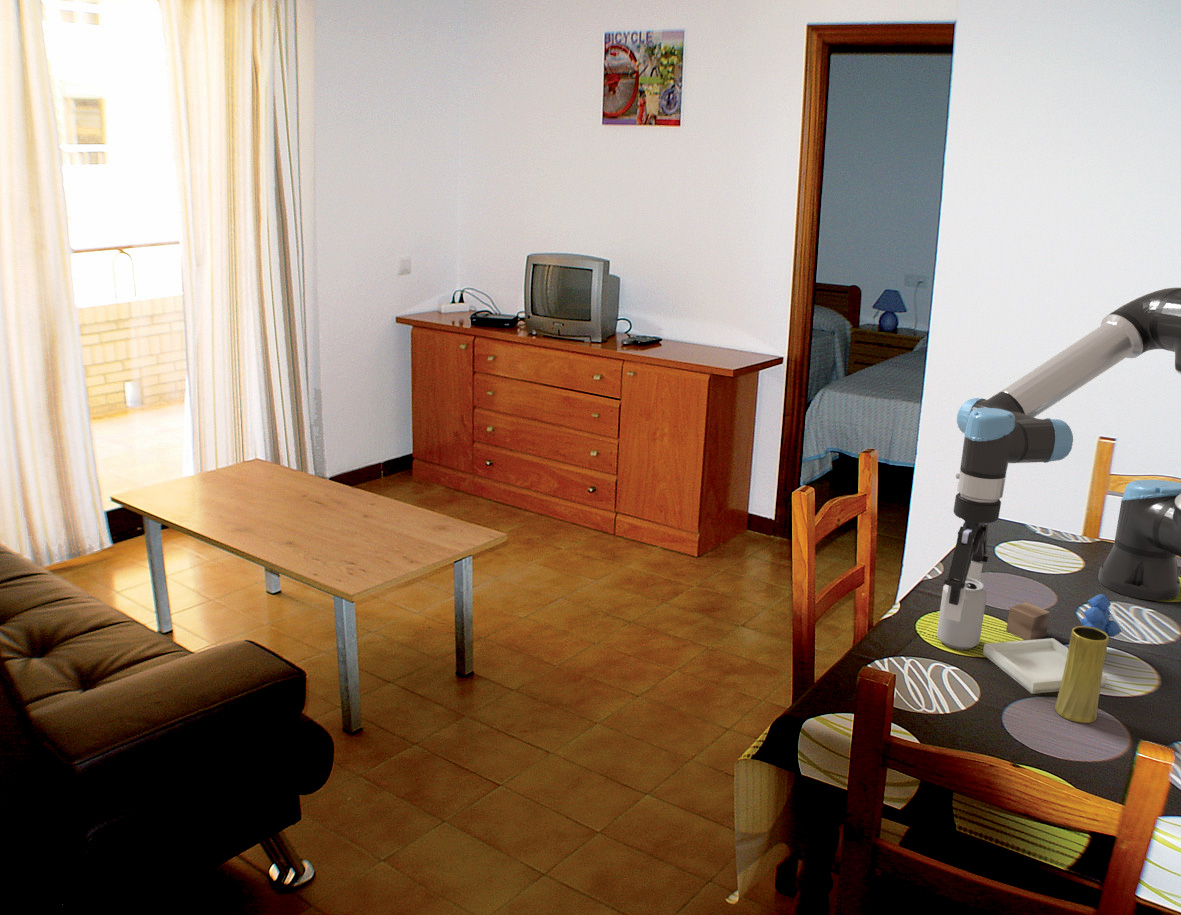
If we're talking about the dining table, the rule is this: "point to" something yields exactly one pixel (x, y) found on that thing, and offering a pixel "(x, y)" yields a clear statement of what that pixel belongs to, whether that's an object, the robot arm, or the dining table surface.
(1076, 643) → the vase
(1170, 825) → the dining table surface
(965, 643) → the can
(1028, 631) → the walnut block
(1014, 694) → the dining table surface
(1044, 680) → the tray
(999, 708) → the dining table surface
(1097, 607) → the grapes
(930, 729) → the dining table surface
